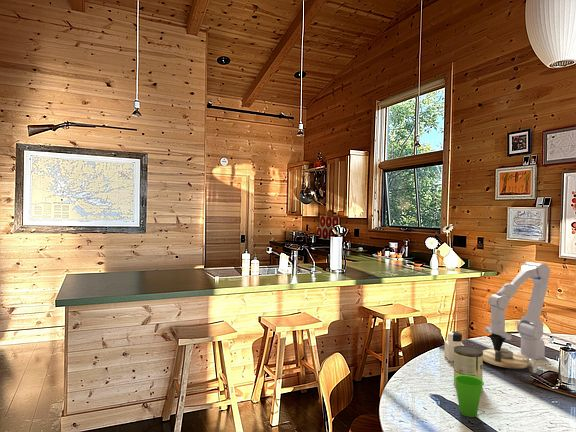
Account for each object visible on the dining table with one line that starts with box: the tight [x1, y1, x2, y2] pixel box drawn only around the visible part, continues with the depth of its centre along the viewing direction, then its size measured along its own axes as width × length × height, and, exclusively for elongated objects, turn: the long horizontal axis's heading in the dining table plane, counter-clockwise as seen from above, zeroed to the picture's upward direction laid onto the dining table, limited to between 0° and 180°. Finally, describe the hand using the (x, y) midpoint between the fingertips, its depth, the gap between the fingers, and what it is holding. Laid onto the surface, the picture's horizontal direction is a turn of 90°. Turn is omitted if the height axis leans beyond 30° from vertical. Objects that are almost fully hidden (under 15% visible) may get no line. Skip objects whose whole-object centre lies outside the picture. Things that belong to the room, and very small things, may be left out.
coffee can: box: [453, 345, 484, 390], centre depth 157 cm, size 10×10×14 cm
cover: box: [496, 347, 514, 359], centre depth 183 cm, size 7×7×3 cm
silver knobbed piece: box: [522, 359, 538, 374], centre depth 174 cm, size 3×7×6 cm, turn 13°
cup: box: [453, 375, 485, 418], centre depth 135 cm, size 9×9×11 cm
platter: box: [482, 348, 529, 369], centre depth 183 cm, size 20×20×6 cm
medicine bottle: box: [443, 331, 465, 362], centre depth 187 cm, size 7×7×12 cm
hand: (497, 351), depth 187 cm, fingers closed
